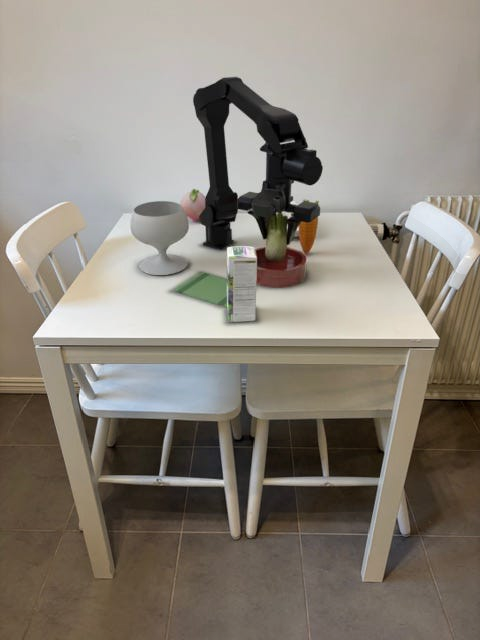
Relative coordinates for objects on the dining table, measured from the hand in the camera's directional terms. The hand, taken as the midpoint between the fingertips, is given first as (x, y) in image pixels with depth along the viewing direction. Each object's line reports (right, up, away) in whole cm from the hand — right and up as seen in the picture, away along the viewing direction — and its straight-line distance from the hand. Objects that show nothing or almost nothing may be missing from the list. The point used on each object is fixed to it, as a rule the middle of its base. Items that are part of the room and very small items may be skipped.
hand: (276, 241), depth 114 cm
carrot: (+9, -1, +14) cm, 17 cm away
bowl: (0, -7, +4) cm, 8 cm away
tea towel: (-15, -11, -2) cm, 19 cm away
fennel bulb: (0, -4, +3) cm, 5 cm away
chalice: (-28, -5, +9) cm, 30 cm away
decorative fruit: (-23, +13, +37) cm, 45 cm away
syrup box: (-8, -18, -12) cm, 23 cm away
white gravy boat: (+6, +10, +32) cm, 34 cm away
